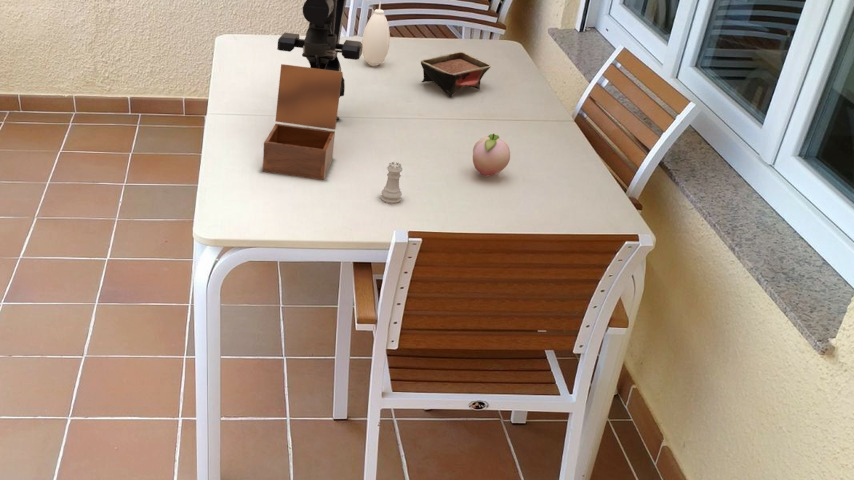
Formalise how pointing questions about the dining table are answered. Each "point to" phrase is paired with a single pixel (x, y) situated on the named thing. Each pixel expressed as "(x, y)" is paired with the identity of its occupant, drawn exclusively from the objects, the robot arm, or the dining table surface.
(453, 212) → the dining table surface
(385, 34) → the cream tall oval piece
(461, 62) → the square footed planter
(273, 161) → the bin
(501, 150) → the decorative fruit
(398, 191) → the rook chess piece
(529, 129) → the dining table surface
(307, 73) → the bin lid
